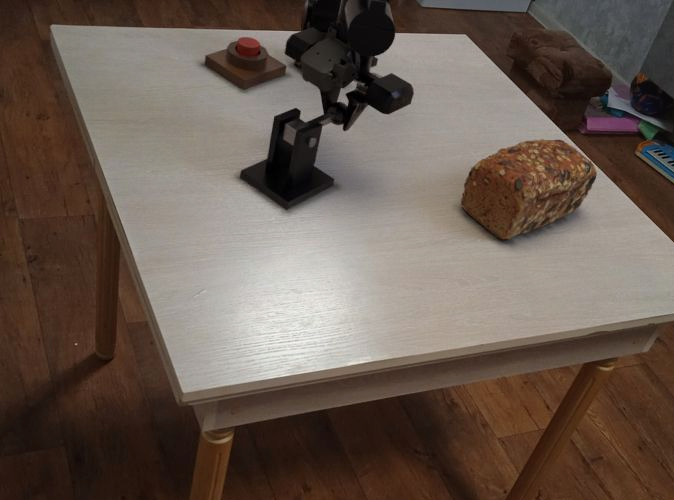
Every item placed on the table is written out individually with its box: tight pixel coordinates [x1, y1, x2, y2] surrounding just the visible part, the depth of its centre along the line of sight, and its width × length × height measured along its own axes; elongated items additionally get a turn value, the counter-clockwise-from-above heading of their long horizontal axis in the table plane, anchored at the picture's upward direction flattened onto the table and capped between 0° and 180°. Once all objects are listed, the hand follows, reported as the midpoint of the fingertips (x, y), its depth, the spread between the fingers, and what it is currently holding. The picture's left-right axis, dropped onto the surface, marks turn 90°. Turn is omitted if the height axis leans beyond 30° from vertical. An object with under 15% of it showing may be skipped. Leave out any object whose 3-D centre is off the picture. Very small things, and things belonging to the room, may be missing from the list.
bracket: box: [239, 107, 335, 210], centre depth 114 cm, size 10×9×10 cm
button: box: [237, 36, 261, 57], centre depth 135 cm, size 4×4×2 cm
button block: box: [204, 40, 287, 90], centre depth 136 cm, size 10×9×4 cm
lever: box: [283, 101, 348, 146], centre depth 114 cm, size 12×3×3 cm, turn 140°
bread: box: [460, 138, 598, 240], centre depth 121 cm, size 19×11×10 cm, turn 130°
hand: (336, 124), depth 118 cm, fingers closed on lever, 3 cm apart
